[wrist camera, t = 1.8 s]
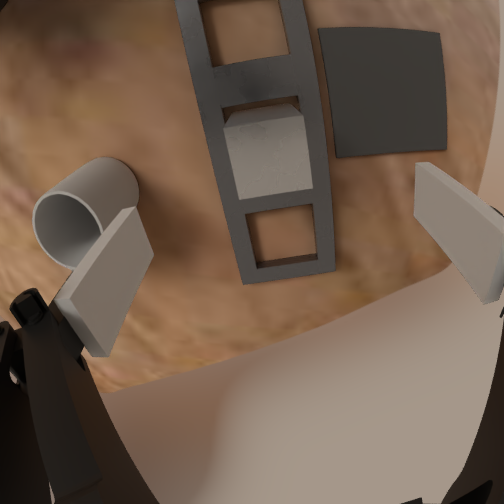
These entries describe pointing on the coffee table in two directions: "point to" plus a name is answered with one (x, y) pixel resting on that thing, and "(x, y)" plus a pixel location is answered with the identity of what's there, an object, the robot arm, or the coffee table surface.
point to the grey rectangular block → (268, 151)
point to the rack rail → (251, 90)
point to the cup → (83, 209)
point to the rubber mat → (385, 89)
